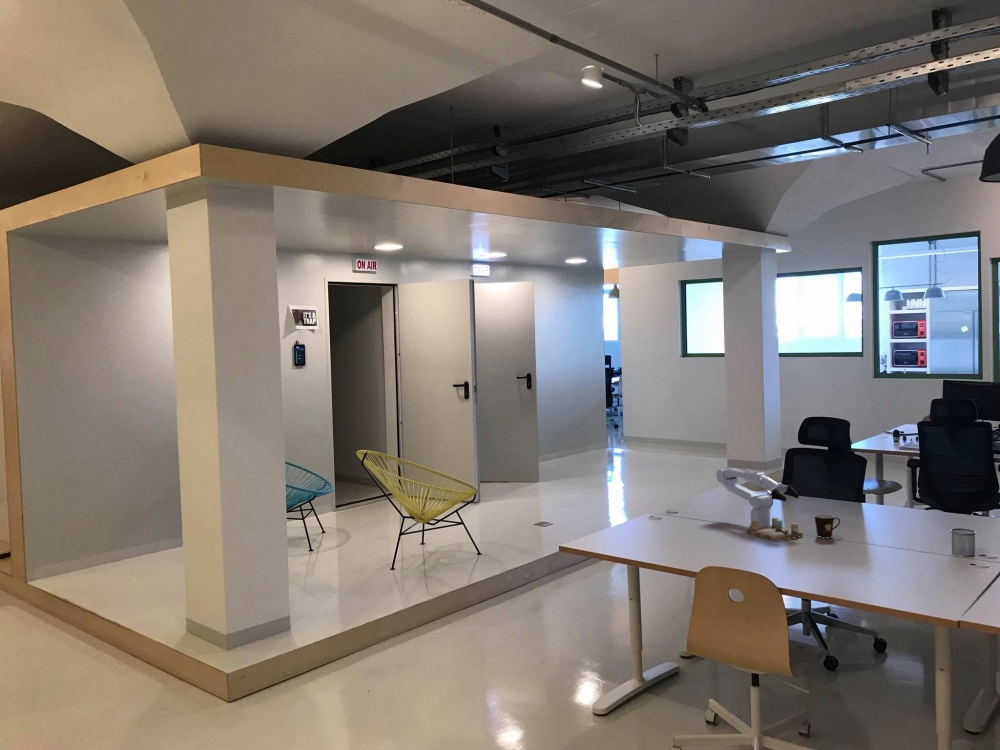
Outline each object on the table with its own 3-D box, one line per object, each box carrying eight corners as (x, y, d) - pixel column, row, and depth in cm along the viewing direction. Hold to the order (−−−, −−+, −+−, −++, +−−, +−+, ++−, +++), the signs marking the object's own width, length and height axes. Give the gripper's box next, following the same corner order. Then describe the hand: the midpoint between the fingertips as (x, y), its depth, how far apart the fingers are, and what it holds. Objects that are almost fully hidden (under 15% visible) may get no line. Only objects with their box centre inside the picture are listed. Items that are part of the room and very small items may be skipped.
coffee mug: (815, 538, 366) (815, 517, 365) (814, 533, 374) (813, 513, 374) (842, 539, 362) (841, 518, 362) (840, 535, 370) (839, 514, 370)
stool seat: (747, 533, 379) (747, 521, 379) (775, 528, 386) (775, 516, 386) (773, 541, 363) (773, 529, 362) (802, 536, 370) (802, 524, 369)
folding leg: (790, 532, 368) (790, 524, 368) (784, 533, 368) (784, 524, 368) (780, 527, 379) (780, 519, 378) (774, 527, 378) (774, 519, 378)
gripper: (761, 481, 380) (781, 493, 369) (784, 476, 386) (804, 487, 374) (760, 494, 383) (779, 506, 371) (782, 488, 388) (802, 500, 376)
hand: (791, 498), depth 373 cm, fingers open, 7 cm apart
